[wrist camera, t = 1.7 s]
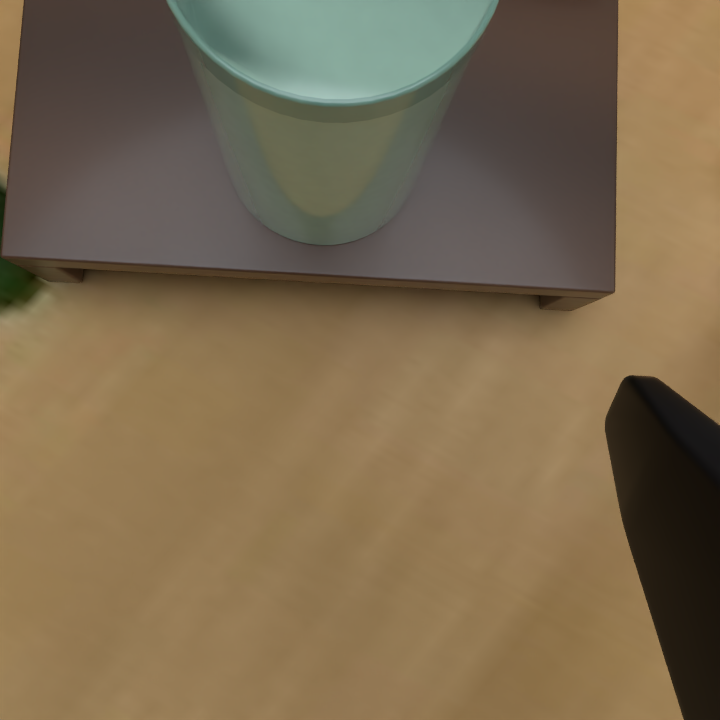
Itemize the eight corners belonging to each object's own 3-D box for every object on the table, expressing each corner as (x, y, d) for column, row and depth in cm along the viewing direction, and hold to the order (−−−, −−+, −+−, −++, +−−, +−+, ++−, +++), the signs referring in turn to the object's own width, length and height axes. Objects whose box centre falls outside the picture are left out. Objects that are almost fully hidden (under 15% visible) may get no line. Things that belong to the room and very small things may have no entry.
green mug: (418, 253, 20) (506, 119, 11) (216, 241, 19) (135, 90, 10) (427, 0, 20) (517, -323, 12) (233, -17, 20) (170, -364, 11)
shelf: (572, 311, 24) (649, 279, 18) (46, 281, 22) (-39, 238, 17) (577, 13, 24) (652, -100, 19) (72, -30, 23) (1, -165, 18)
